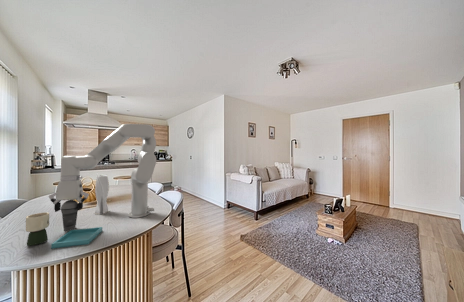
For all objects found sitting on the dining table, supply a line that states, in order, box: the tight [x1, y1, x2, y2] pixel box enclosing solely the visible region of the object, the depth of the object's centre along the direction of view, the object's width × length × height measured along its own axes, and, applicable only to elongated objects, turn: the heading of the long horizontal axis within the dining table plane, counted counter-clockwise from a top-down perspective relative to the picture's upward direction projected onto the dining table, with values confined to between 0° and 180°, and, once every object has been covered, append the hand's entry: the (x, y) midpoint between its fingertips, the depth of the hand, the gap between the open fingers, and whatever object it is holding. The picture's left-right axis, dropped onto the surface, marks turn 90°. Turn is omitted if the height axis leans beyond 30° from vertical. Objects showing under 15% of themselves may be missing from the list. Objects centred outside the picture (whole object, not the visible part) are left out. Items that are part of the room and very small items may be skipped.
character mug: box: [25, 211, 50, 247], centre depth 78 cm, size 11×7×13 cm, turn 64°
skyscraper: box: [93, 172, 111, 216], centre depth 118 cm, size 8×8×28 cm
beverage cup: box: [60, 200, 79, 232], centre depth 93 cm, size 7×7×20 cm
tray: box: [50, 226, 103, 249], centre depth 82 cm, size 14×14×2 cm
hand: (68, 210), depth 92 cm, fingers open, 9 cm apart
